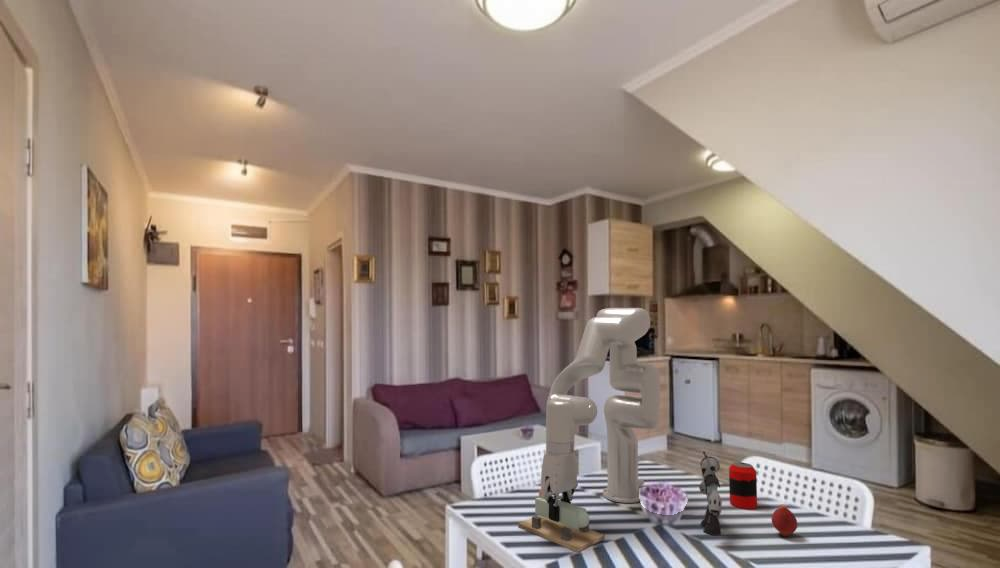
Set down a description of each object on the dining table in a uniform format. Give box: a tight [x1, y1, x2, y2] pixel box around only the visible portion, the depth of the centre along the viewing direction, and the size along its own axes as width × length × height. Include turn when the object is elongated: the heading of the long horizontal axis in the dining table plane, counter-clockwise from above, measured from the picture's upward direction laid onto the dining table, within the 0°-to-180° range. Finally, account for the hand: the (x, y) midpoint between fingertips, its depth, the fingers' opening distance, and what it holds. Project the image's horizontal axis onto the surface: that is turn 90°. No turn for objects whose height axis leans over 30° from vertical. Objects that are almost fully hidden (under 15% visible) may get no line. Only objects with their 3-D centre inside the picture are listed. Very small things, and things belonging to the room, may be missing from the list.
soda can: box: [728, 461, 758, 510], centre depth 153 cm, size 8×8×12 cm
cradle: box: [517, 515, 605, 553], centre depth 132 cm, size 11×20×4 cm, turn 44°
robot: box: [698, 451, 723, 536], centre depth 136 cm, size 20×5×20 cm, turn 166°
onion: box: [771, 503, 798, 537], centre depth 131 cm, size 6×6×8 cm
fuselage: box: [534, 488, 590, 529], centre depth 131 cm, size 4×16×6 cm, turn 44°
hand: (559, 517), depth 132 cm, fingers closed on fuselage, 4 cm apart
